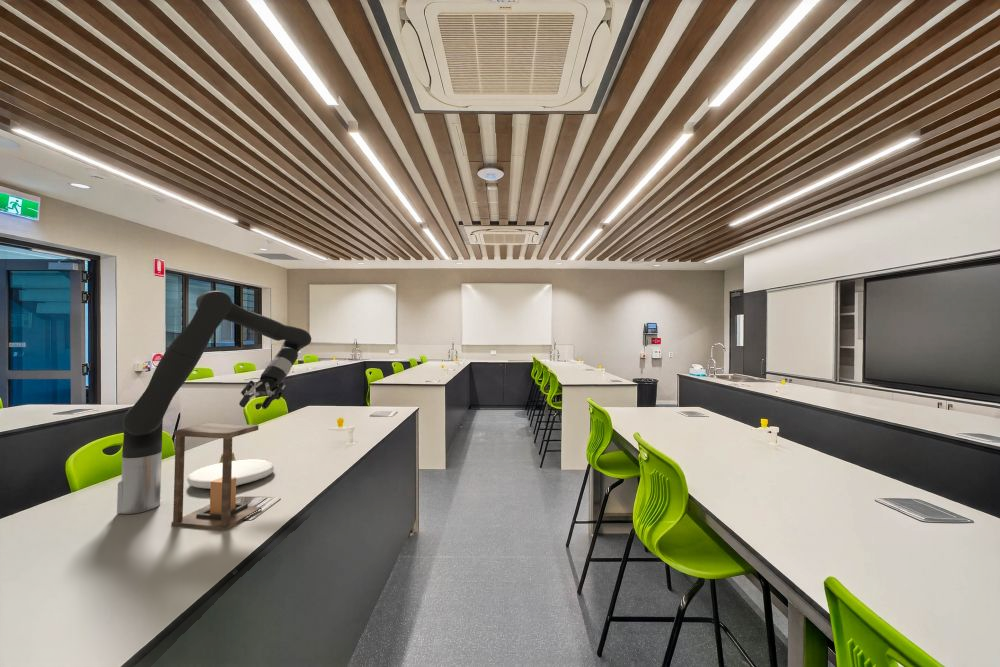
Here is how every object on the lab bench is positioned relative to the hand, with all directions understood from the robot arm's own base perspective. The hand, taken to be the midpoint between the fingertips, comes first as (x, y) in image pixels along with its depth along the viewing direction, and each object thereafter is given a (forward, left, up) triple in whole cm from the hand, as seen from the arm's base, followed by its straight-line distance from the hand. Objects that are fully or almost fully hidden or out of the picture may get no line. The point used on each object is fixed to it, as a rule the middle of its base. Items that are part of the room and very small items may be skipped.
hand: (252, 407), depth 132 cm
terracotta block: (-4, -16, -30) cm, 34 cm away
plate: (-10, +18, -31) cm, 37 cm away
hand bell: (-17, +38, -31) cm, 52 cm away
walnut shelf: (-4, -17, -31) cm, 35 cm away
